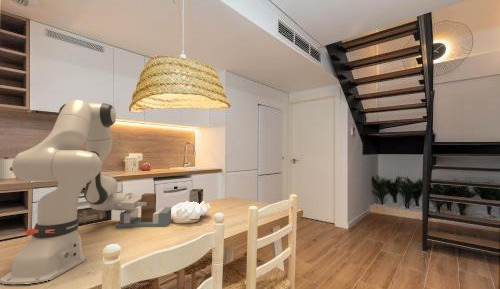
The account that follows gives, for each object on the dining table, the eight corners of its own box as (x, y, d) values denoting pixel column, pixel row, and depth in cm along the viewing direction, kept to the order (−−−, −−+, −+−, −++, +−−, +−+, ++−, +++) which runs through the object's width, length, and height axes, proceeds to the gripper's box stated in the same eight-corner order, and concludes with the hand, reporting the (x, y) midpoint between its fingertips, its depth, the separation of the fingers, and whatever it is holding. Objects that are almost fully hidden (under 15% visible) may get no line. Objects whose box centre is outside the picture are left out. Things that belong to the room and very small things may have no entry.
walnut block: (152, 221, 130) (153, 195, 130) (140, 221, 130) (141, 195, 130) (155, 219, 135) (156, 193, 135) (144, 219, 135) (144, 193, 135)
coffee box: (199, 219, 140) (200, 191, 141) (188, 219, 141) (189, 191, 141) (203, 215, 150) (203, 188, 150) (192, 215, 150) (193, 188, 150)
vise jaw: (129, 223, 126) (130, 213, 127) (119, 223, 126) (120, 213, 126) (138, 217, 137) (138, 208, 138) (128, 217, 137) (129, 208, 137)
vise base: (166, 226, 127) (166, 213, 127) (115, 227, 125) (116, 213, 125) (172, 219, 140) (172, 207, 140) (126, 219, 138) (127, 207, 138)
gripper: (114, 199, 121) (143, 199, 122) (131, 192, 142) (155, 192, 143) (113, 212, 121) (142, 212, 122) (130, 203, 142) (155, 203, 143)
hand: (149, 201), depth 133 cm, fingers open, 8 cm apart
